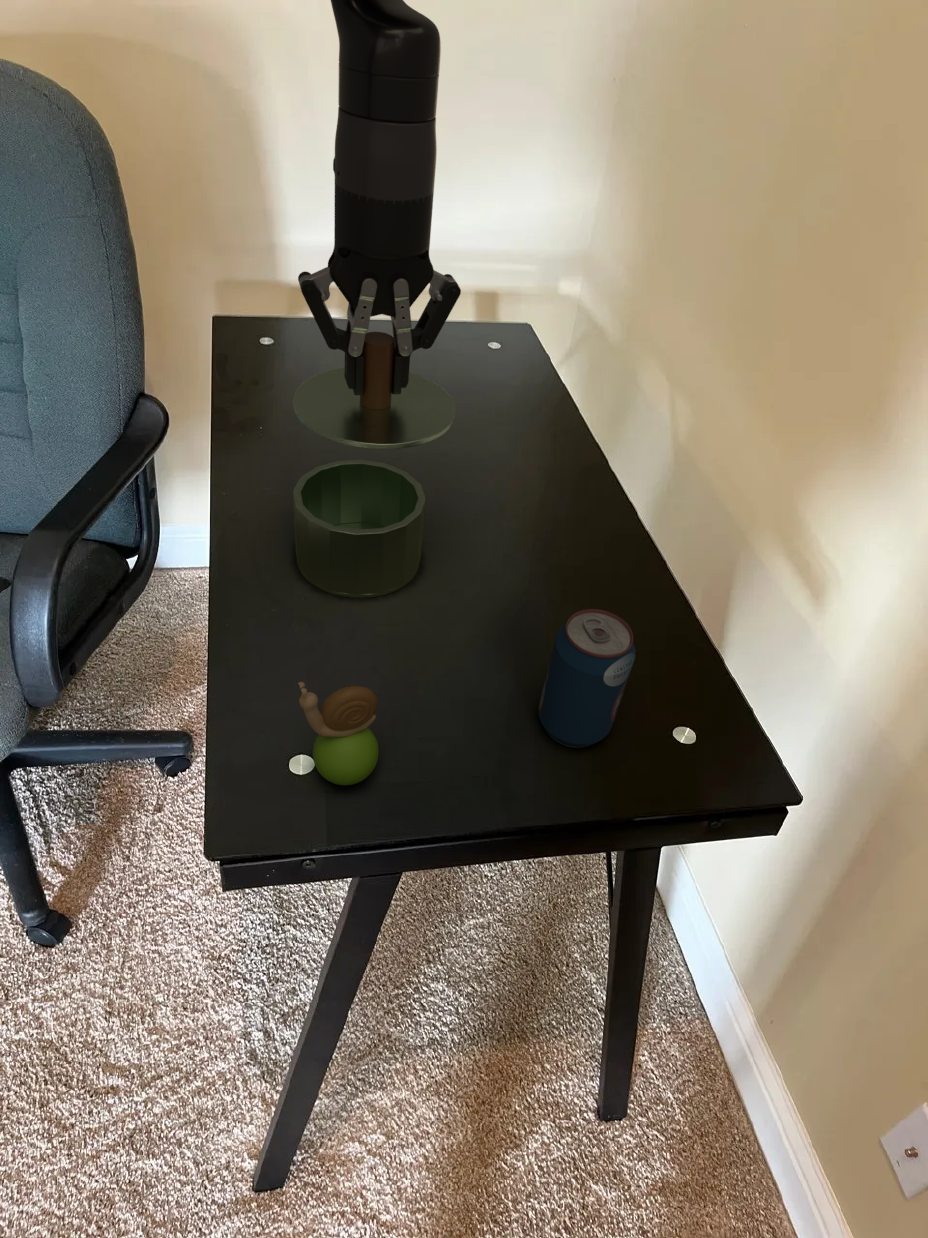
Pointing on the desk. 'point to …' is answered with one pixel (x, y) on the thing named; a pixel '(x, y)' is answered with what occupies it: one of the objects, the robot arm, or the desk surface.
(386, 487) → the pot
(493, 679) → the desk surface
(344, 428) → the pot lid
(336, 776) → the snail figurine
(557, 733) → the soda can
